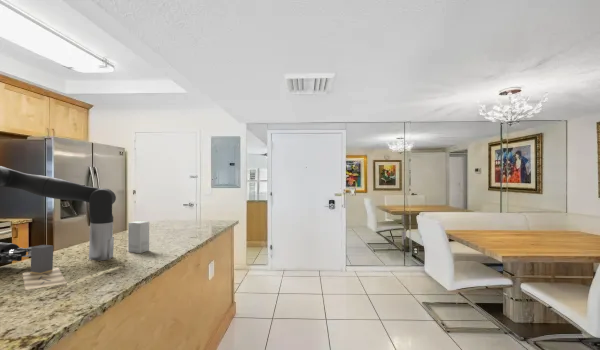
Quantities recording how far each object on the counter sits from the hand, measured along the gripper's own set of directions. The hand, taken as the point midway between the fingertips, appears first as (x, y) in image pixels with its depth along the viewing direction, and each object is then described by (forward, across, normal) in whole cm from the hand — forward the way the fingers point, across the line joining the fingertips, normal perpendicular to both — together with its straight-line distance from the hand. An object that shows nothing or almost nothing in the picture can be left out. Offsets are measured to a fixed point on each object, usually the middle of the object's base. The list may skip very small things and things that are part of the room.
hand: (32, 255), depth 120 cm
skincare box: (+12, +43, +8) cm, 46 cm away
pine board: (+12, -5, +7) cm, 15 cm away
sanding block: (+5, 0, +6) cm, 8 cm away
